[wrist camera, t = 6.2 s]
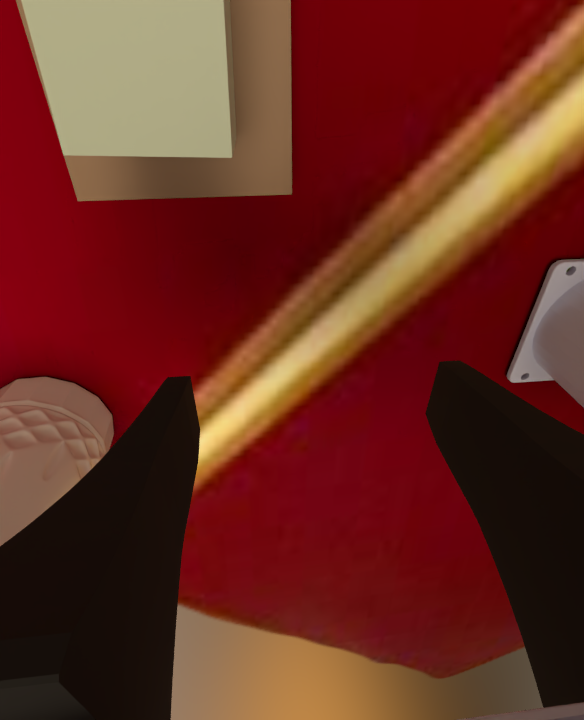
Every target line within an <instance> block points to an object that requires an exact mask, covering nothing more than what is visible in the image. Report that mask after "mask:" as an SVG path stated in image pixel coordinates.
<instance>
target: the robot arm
mask: <svg viewBox="0 0 584 720" xmlns="http://www.w3.org/2000/svg"><path fill="white" fill-rule="evenodd" d="M570 267H571V268H570ZM568 268H570V270H569V271H568V272H566V271H567V269H568ZM523 374H524V375H523ZM507 378H508V379H509V381H511V382H513V383H517V382H532V381H547V380H555V381H556V382H557V383H558V384H559V385H560V386H561V387H562V388H563V389H565V390H566V391H567V392H568V393H569V394H570V395H571V396H572V397H573V398H574V399H575V400H576V401H577V402H578V403H579V404H580V405H581V406H582V407H584V259H570V260H559V261H556V262H555V263H553V264H552V265H551V267H550V268H549V270H548V273H547V275H546V278H545V280H544V283H543V285H542V288H541V290H540V293H539V295H538V298H537V300H536V303H535V305H534V308H533V310H532V313H531V315H530V318H529V320H528V323H527V325H526V328H525V330H524V333H523V335H522V338H521V340H520V343H519V345H518V348H517V350H516V353H515V355H514V358H513V360H512V363H511V365H510V368H509V370H508V373H507ZM426 416H427V419H428V422H429V425H430V428H431V430H432V433H433V436H434V438H435V441H436V443H437V445H438V447H439V449H440V451H441V453H442V455H443V457H444V459H445V460H446V462H447V464H448V466H449V468H450V470H451V472H452V474H453V475H454V477H455V479H456V481H457V483H458V485H459V486H460V488H461V490H462V492H463V494H464V496H465V497H466V499H467V501H468V503H469V505H470V507H471V509H472V510H473V513H474V515H475V517H476V519H477V521H478V523H479V525H480V527H481V530H482V532H483V534H484V537H485V539H486V542H487V544H488V546H489V549H490V551H491V554H492V556H493V559H494V561H495V564H496V566H497V569H498V572H499V574H500V577H501V579H502V582H503V585H504V587H505V590H506V592H507V595H508V598H509V601H510V604H511V607H512V609H513V612H514V615H515V618H516V621H517V624H518V627H519V630H520V632H521V635H522V638H523V642H524V645H525V648H526V651H527V654H528V658H529V661H530V664H531V667H532V670H533V673H534V677H535V680H536V683H537V687H538V690H539V693H540V697H541V701H542V704H543V707H544V708H539V709H532V710H524V711H517V712H509V713H503V714H495V715H488V716H480V717H473V718H466V719H459V720H584V435H583V434H581V433H580V432H578V431H576V430H574V429H572V428H570V427H568V426H566V425H565V424H563V423H561V422H559V421H558V420H556V419H554V418H552V417H551V416H549V415H547V414H545V413H544V412H542V411H540V410H539V409H537V408H535V407H534V406H532V405H530V404H529V403H527V402H525V401H524V400H522V399H521V398H519V397H517V396H516V395H514V394H513V393H511V392H510V391H508V390H506V389H505V388H503V387H502V386H500V385H499V384H497V383H496V382H494V381H492V380H491V379H489V378H488V377H486V376H485V375H483V374H481V373H480V372H478V371H477V370H475V369H474V368H472V367H470V366H469V365H467V364H465V363H463V362H461V361H444V362H439V366H438V370H437V373H436V377H435V381H434V384H433V388H432V392H431V396H430V399H429V403H428V407H427V410H426ZM199 438H200V426H199V421H198V416H197V410H196V405H195V399H194V394H193V389H192V383H191V378H190V376H183V377H168V378H167V379H166V380H165V381H164V382H163V384H162V385H161V386H160V388H159V389H158V391H157V392H156V393H155V395H154V396H153V397H152V399H151V400H150V401H149V403H148V404H147V405H146V407H145V408H144V409H143V411H142V412H141V413H140V414H139V416H138V417H137V418H136V419H135V421H134V422H133V423H132V424H131V426H130V427H129V428H128V429H127V431H126V432H125V433H124V434H123V435H122V436H121V438H120V439H119V440H118V441H117V442H116V443H115V444H114V445H113V447H112V448H111V449H110V450H109V451H108V452H107V453H106V454H105V455H104V457H103V458H102V459H101V460H100V461H99V462H98V463H97V464H96V465H95V466H94V467H93V468H92V469H91V470H90V471H89V472H88V473H87V474H86V475H85V476H84V477H83V478H82V479H81V480H80V481H79V482H78V483H77V484H76V485H74V486H73V487H72V488H71V489H70V490H69V491H68V492H67V493H66V494H65V495H63V496H62V497H61V498H60V499H59V500H58V501H56V502H55V503H54V504H53V505H52V506H50V507H49V508H48V509H47V510H46V511H44V512H43V513H42V514H41V515H40V516H38V517H37V518H36V519H35V520H34V521H33V522H31V523H30V524H29V525H28V526H26V527H25V528H24V529H22V530H21V531H20V532H18V533H17V534H16V535H15V536H13V537H12V538H11V539H9V540H8V541H7V542H5V543H4V544H3V545H1V546H0V720H170V718H171V698H172V677H173V661H174V646H175V629H176V615H177V603H178V590H179V579H180V568H181V556H182V548H183V541H184V534H185V529H186V524H187V518H188V513H189V508H190V502H191V497H192V492H193V486H194V481H195V475H196V470H197V464H198V454H199Z"/></svg>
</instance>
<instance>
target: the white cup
mask: <svg viewBox="0 0 584 720" xmlns="http://www.w3.org/2000/svg"><path fill="white" fill-rule="evenodd" d="M113 435H114V428H113V419H112V414H111V413H110V412H109V410H108V409H107V408H106V406H105V405H104V404H103V402H102V401H101V400H100V399H99V397H97V396H96V395H94V394H92V393H91V392H89V391H87V390H85V389H84V388H82V387H80V386H79V385H77V384H75V383H72V382H67V381H63V380H59V379H54V378H50V377H35V378H25V379H17V380H15V381H13V382H11V383H10V384H8V385H6V386H5V387H3V388H1V389H0V546H1V545H3V544H4V543H5V542H7V541H8V540H9V539H11V538H12V537H13V536H15V535H16V534H17V533H18V532H20V531H21V530H22V529H24V528H25V527H26V526H28V525H29V524H30V523H31V522H33V521H34V520H35V519H36V518H37V517H38V516H40V515H41V514H42V513H43V512H44V511H46V510H47V509H48V508H49V507H50V506H52V505H53V504H54V503H55V502H56V501H58V500H59V499H60V498H61V497H62V496H63V495H65V494H66V493H67V492H68V491H69V490H70V489H71V488H72V487H73V486H74V485H76V484H77V483H78V482H79V481H80V480H81V479H82V478H83V477H84V476H85V475H86V474H87V473H88V472H89V471H90V470H91V469H92V468H93V467H94V466H95V465H96V464H97V463H98V462H99V461H100V460H101V459H102V458H103V457H104V455H105V454H106V453H107V452H108V451H109V448H110V445H111V442H112V439H113Z"/></svg>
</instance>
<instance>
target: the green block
mask: <svg viewBox="0 0 584 720" xmlns="http://www.w3.org/2000/svg"><path fill="white" fill-rule="evenodd" d="M21 2H22V5H23V9H24V13H25V16H26V20H27V24H28V27H29V31H30V35H31V38H32V42H33V45H34V49H35V53H36V56H37V60H38V64H39V67H40V71H41V75H42V78H43V82H44V86H45V89H46V93H47V97H48V100H49V104H50V108H51V111H52V115H53V119H54V122H55V126H56V130H57V133H58V137H59V140H60V144H61V148H62V151H63V155H73V156H141V157H210V158H232V157H233V152H234V147H235V142H236V118H235V97H234V76H233V56H232V35H231V14H230V0H21Z"/></svg>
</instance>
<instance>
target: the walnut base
mask: <svg viewBox="0 0 584 720" xmlns="http://www.w3.org/2000/svg"><path fill="white" fill-rule="evenodd" d="M16 2H17V5H18V9H19V12H20V15H21V18H22V22H23V25H24V28H25V31H26V35H27V38H28V41H29V44H30V48H31V51H32V54H33V57H34V60H35V64H36V67H37V70H38V73H39V77H40V80H41V83H42V86H43V90H44V93H45V96H46V99H47V102H48V106H49V109H50V112H51V115H52V111H51V108H50V104H49V100H48V97H47V93H46V89H45V86H44V82H43V78H42V75H41V71H40V67H39V64H38V60H37V56H36V53H35V49H34V45H33V42H32V38H31V35H30V31H29V27H28V24H27V20H26V16H25V13H24V9H23V5H22V2H21V0H16ZM230 14H231V35H232V56H233V76H234V97H235V118H236V142H235V147H234V152H233V157H232V158H210V157H141V156H73V155H64V157H65V161H66V164H67V167H68V170H69V174H70V177H71V180H72V183H73V187H74V190H75V193H76V196H77V199H78V201H97V200H129V199H161V198H192V197H224V196H256V195H287V194H292V122H291V0H230ZM52 119H53V115H52ZM53 122H54V119H53ZM54 125H55V122H54ZM55 128H56V126H55ZM56 132H57V130H56ZM57 135H58V133H57ZM58 138H59V137H58ZM59 141H60V140H59ZM60 145H61V144H60Z"/></svg>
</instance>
